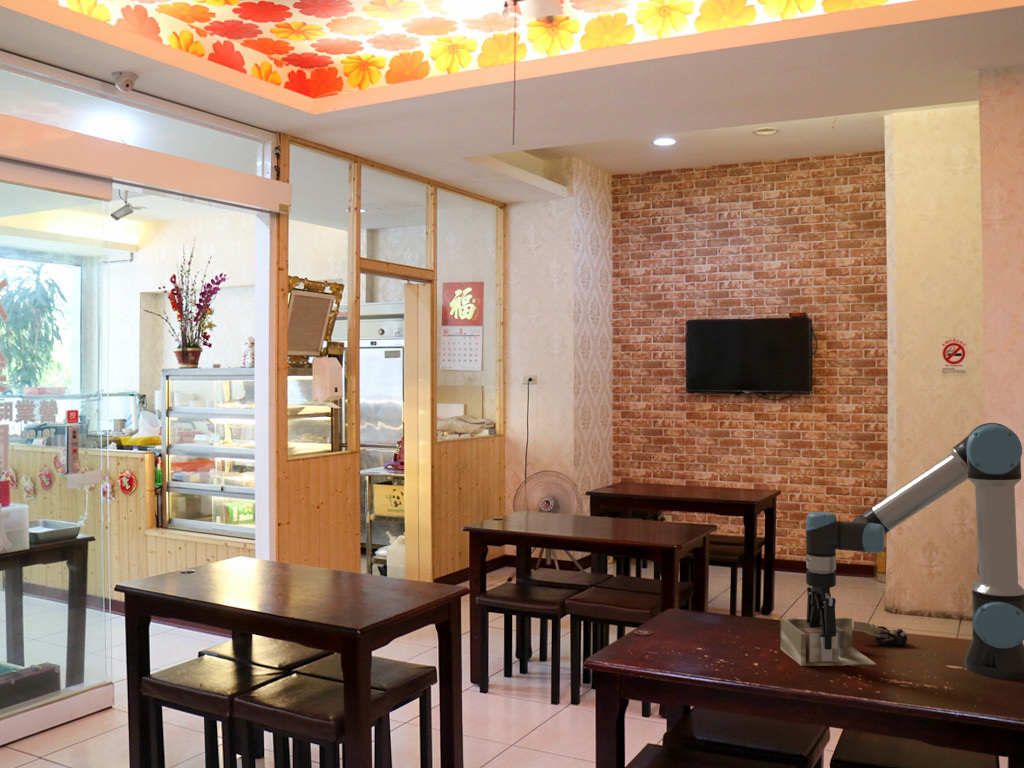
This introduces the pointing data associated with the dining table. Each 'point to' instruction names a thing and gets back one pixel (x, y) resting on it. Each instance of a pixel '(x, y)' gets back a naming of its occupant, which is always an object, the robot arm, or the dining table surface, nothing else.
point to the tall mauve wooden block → (818, 645)
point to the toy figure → (881, 633)
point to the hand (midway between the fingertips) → (821, 656)
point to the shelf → (796, 642)
